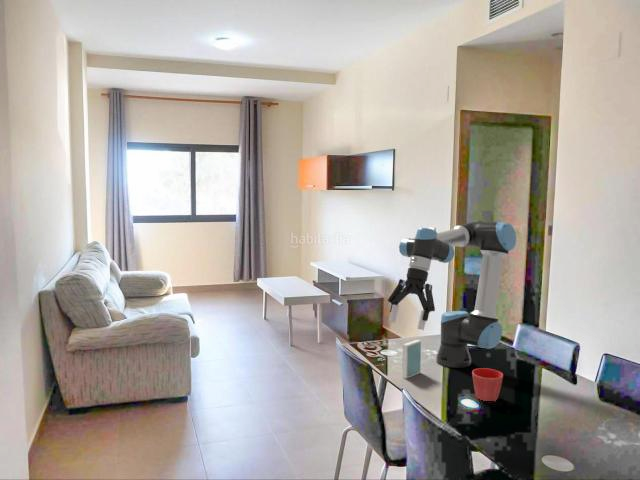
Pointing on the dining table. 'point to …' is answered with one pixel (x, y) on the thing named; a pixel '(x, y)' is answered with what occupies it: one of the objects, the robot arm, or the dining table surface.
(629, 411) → the dining table surface
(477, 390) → the flower pot
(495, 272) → the robot arm
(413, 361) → the tile
